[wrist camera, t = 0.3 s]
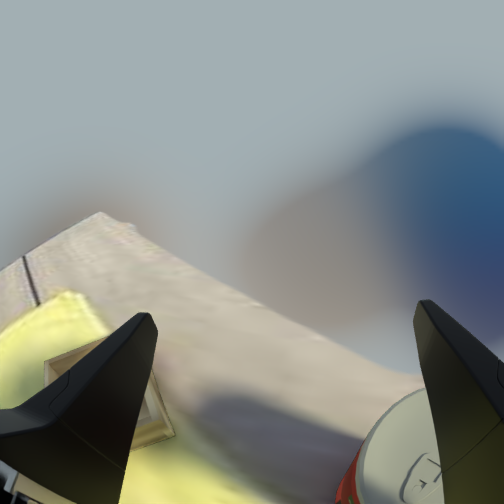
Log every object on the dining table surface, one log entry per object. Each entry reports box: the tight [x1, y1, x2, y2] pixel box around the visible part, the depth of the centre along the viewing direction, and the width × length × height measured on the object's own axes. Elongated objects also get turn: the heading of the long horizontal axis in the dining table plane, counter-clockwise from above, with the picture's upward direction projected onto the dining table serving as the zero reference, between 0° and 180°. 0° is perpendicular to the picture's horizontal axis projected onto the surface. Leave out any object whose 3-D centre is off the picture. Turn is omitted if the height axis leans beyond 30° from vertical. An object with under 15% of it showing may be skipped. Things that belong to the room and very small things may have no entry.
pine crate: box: [44, 336, 175, 451], centre depth 23 cm, size 11×11×4 cm
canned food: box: [335, 388, 444, 504], centre depth 12 cm, size 8×8×11 cm
